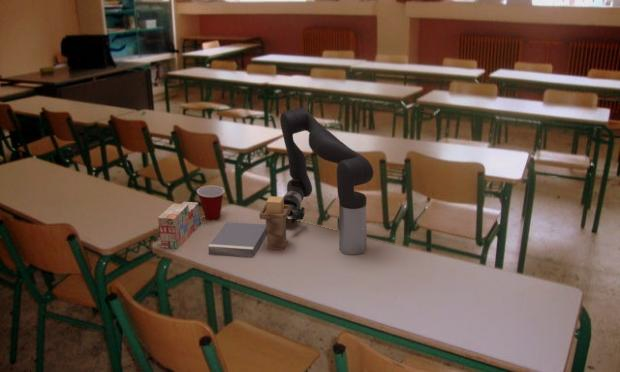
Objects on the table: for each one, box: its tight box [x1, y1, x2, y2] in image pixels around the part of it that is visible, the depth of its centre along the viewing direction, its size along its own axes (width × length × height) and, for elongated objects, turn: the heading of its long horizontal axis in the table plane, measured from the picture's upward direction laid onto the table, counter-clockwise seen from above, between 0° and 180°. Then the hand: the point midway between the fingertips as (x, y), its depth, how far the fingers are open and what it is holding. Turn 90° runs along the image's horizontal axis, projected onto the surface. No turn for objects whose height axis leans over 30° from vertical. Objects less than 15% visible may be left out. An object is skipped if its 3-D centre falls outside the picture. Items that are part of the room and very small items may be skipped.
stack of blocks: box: [157, 201, 202, 250], centre depth 206 cm, size 21×6×12 cm, turn 168°
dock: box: [207, 221, 267, 258], centre depth 201 cm, size 16×20×3 cm
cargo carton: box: [265, 195, 284, 215], centre depth 194 cm, size 5×5×5 cm
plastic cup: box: [196, 184, 226, 221], centre depth 220 cm, size 11×11×12 cm
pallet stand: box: [259, 204, 291, 250], centre depth 197 cm, size 9×9×14 cm
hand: (281, 220), depth 203 cm, fingers open, 8 cm apart
